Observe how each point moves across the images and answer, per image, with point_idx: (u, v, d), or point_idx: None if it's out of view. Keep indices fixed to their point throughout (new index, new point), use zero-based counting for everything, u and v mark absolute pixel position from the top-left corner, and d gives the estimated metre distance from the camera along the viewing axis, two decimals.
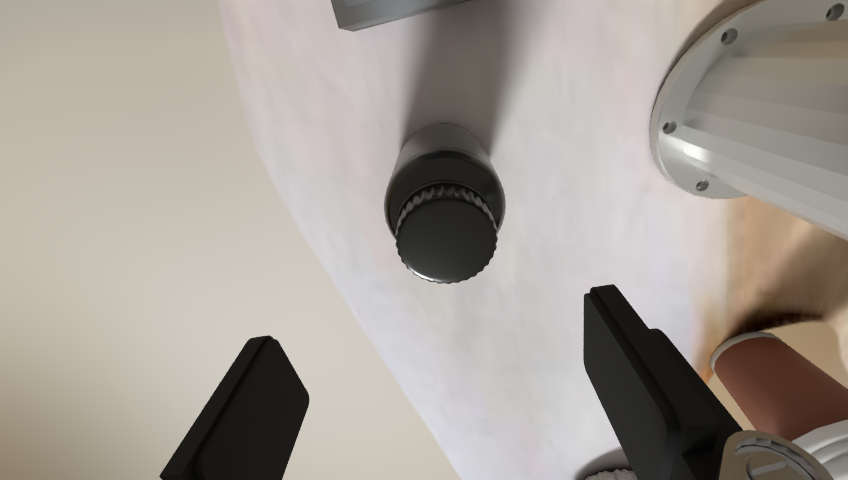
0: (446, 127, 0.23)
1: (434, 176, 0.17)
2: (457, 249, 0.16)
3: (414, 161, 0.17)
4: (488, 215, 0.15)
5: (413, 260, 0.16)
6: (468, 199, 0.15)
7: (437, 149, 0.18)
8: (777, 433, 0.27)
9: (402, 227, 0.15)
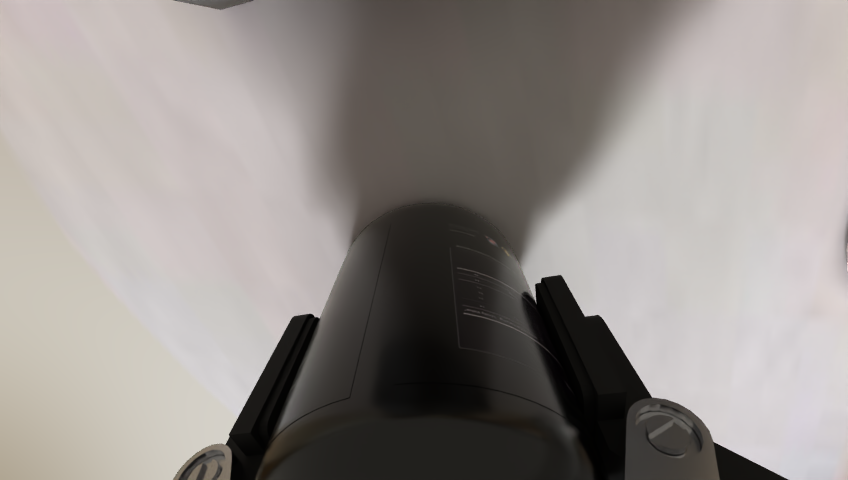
0: (437, 226, 0.10)
1: None
2: None
3: (320, 449, 0.05)
4: None
5: None
6: None
7: (405, 400, 0.05)
8: None
9: None
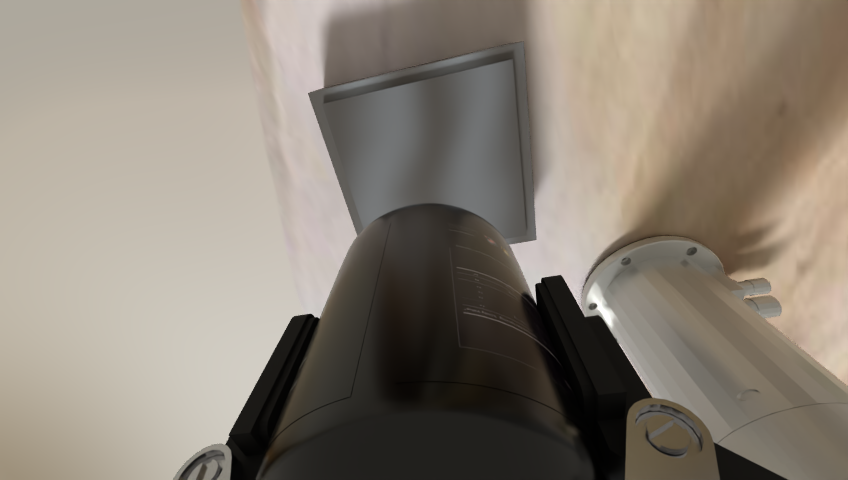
0: (436, 225, 0.10)
1: None
2: None
3: (321, 448, 0.05)
4: None
5: None
6: None
7: (405, 399, 0.05)
8: None
9: None
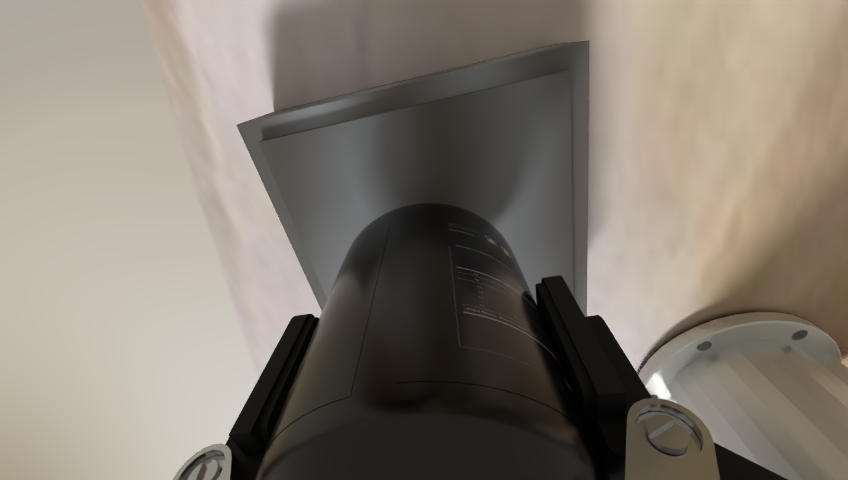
0: (436, 225, 0.10)
1: None
2: None
3: (321, 448, 0.05)
4: None
5: None
6: None
7: (405, 398, 0.05)
8: None
9: None
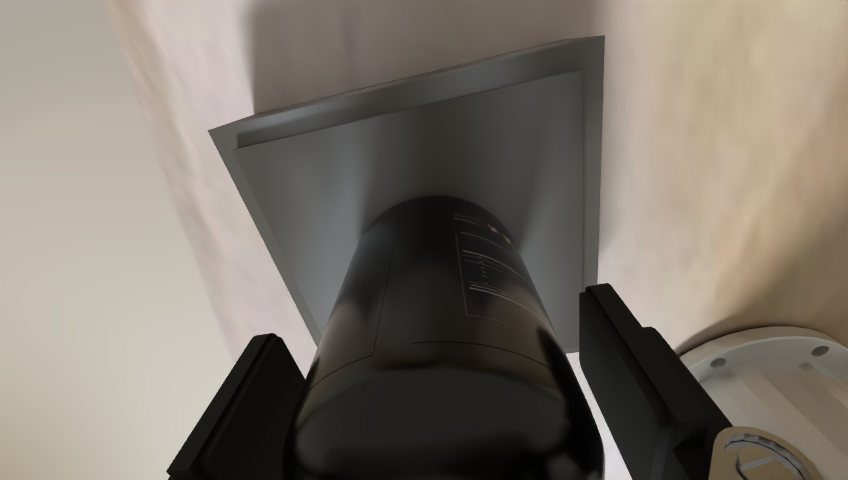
0: (443, 215, 0.11)
1: (409, 470, 0.05)
2: None
3: (350, 396, 0.06)
4: None
5: None
6: None
7: (421, 355, 0.06)
8: None
9: None
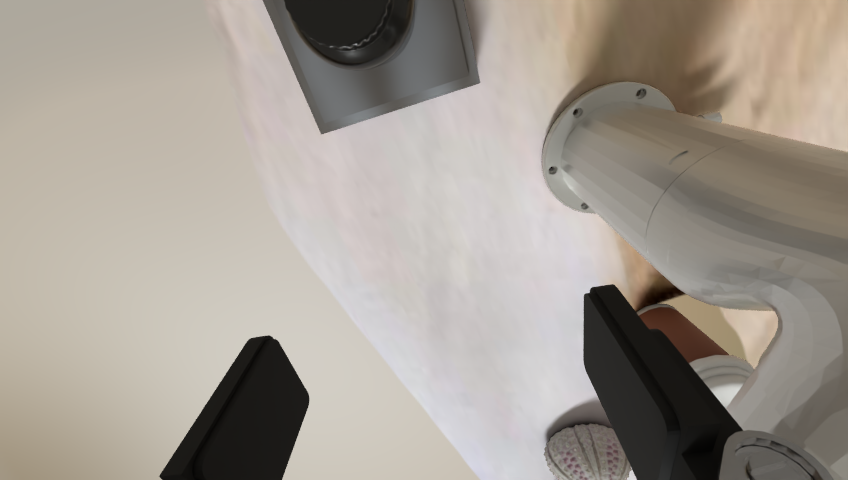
0: None
1: None
2: None
3: None
4: None
5: (303, 15, 0.15)
6: None
7: None
8: None
9: None
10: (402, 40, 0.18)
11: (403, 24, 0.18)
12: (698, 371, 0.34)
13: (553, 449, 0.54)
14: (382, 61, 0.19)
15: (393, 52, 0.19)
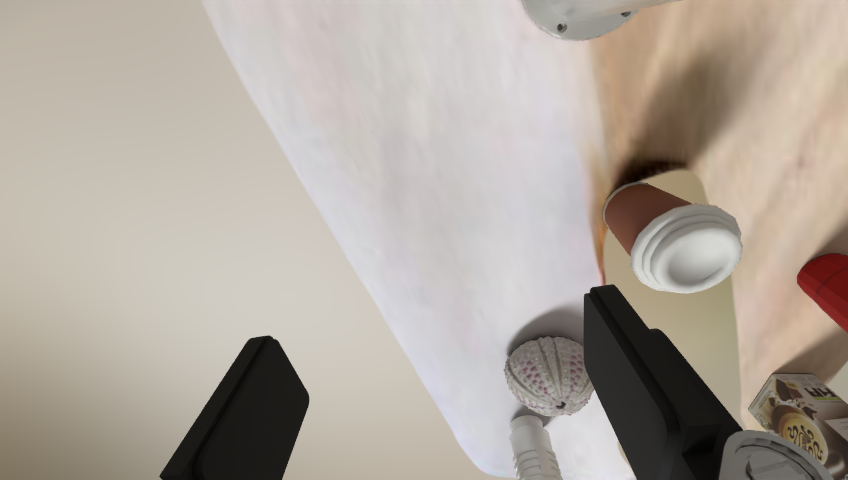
0: None
1: None
2: None
3: None
4: None
5: None
6: None
7: None
8: (633, 239, 0.33)
9: None
10: None
11: None
12: (674, 220, 0.30)
13: (514, 361, 0.49)
14: None
15: None
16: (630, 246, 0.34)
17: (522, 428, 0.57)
